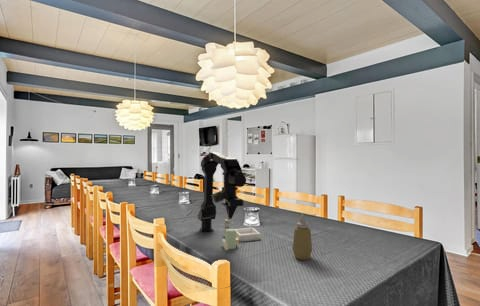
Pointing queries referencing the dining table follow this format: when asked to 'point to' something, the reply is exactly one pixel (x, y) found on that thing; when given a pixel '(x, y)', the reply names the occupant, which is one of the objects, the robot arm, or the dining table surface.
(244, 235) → the tray
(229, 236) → the block
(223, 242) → the crank housing
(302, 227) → the squeeze bottle
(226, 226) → the crank
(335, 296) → the dining table surface
